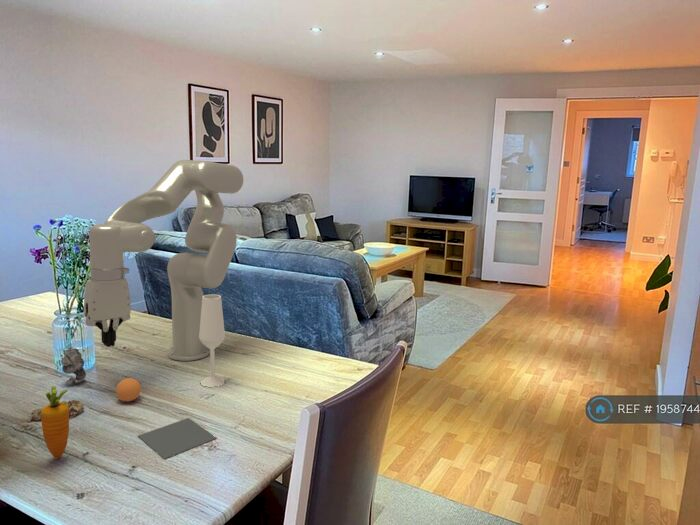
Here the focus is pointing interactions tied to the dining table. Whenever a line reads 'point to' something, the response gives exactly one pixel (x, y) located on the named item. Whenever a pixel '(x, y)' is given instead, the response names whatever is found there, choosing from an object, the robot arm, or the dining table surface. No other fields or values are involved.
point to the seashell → (73, 365)
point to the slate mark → (176, 438)
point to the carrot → (55, 423)
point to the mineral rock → (73, 405)
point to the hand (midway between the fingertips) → (109, 344)
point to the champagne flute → (212, 332)
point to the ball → (128, 389)
